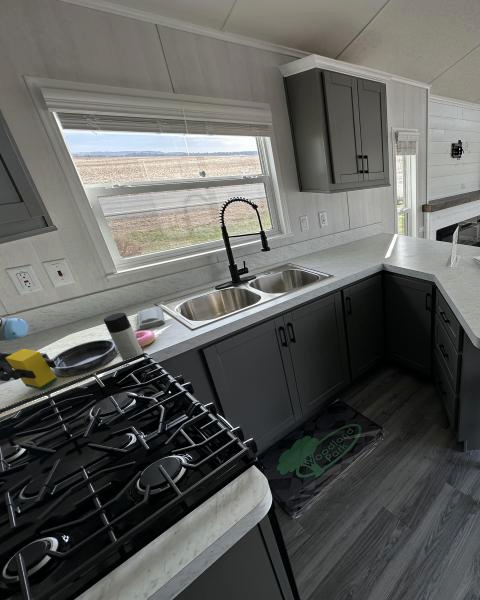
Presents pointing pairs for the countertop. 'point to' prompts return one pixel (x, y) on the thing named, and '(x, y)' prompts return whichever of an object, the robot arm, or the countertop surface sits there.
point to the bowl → (84, 357)
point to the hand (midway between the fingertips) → (43, 369)
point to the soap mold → (150, 317)
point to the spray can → (123, 335)
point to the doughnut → (145, 337)
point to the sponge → (32, 368)
